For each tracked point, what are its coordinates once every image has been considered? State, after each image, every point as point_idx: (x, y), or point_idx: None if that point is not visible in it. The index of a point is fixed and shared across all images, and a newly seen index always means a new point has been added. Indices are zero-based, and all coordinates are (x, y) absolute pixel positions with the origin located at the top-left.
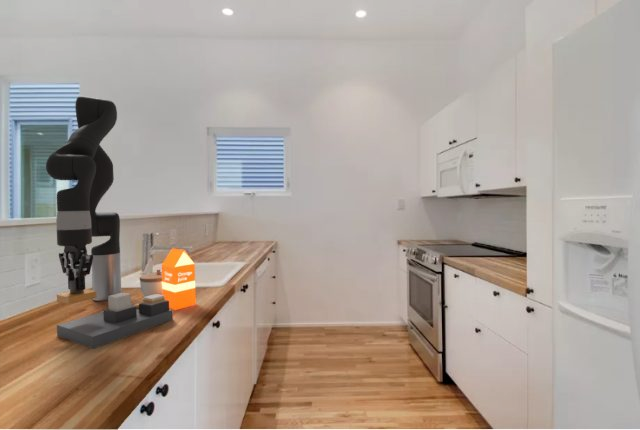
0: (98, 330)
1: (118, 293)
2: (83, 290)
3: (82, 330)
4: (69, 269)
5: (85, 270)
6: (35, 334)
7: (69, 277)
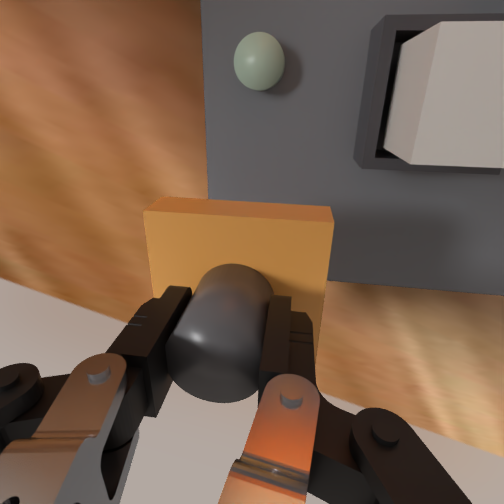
0: (462, 248)
1: (429, 68)
2: (258, 279)
3: (385, 270)
4: (117, 491)
5: (310, 446)
6: (138, 269)
7: (158, 409)
